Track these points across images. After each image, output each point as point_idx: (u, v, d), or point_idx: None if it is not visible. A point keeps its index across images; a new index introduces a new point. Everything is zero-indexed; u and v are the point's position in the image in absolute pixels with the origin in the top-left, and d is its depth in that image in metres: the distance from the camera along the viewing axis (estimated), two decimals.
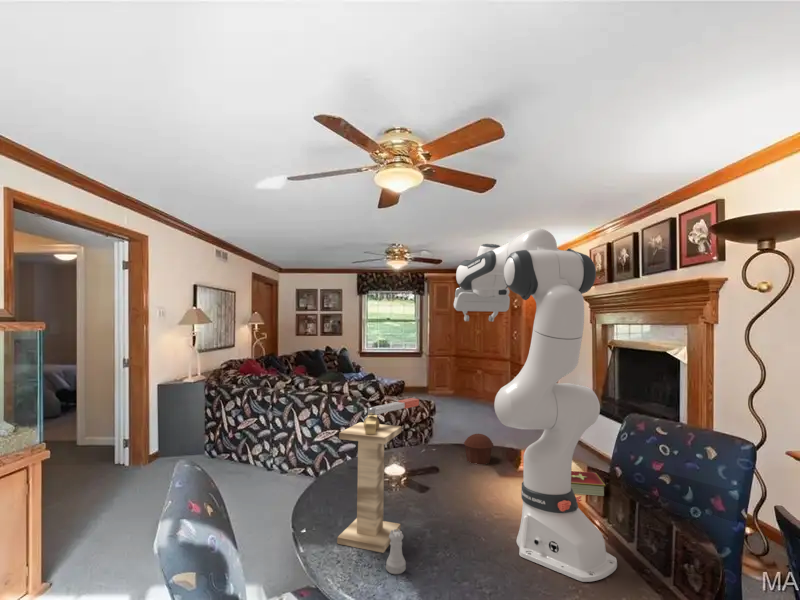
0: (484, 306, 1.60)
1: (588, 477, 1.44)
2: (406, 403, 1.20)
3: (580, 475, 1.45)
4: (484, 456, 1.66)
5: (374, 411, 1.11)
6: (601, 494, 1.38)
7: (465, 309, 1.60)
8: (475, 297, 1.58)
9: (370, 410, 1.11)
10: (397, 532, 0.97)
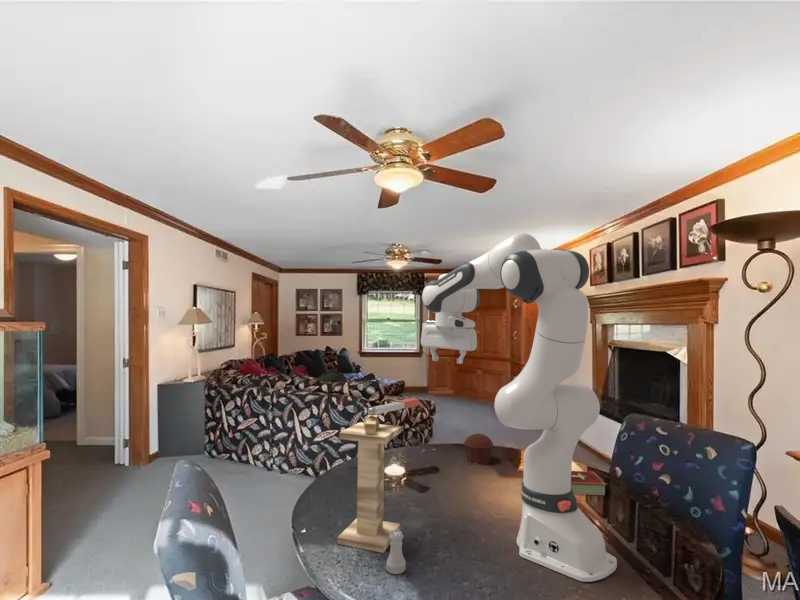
0: (446, 342, 1.47)
1: (588, 477, 1.44)
2: (406, 403, 1.20)
3: (580, 475, 1.45)
4: (484, 456, 1.66)
5: (374, 411, 1.11)
6: (602, 493, 1.38)
7: (429, 344, 1.51)
8: (437, 331, 1.50)
9: (370, 410, 1.11)
10: (397, 532, 0.97)
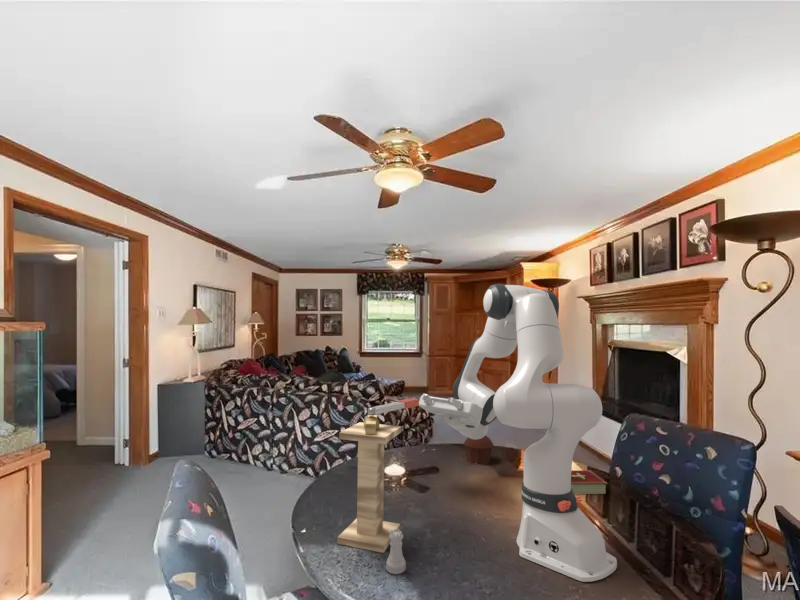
0: None
1: (587, 476, 1.45)
2: (406, 403, 1.20)
3: (579, 474, 1.46)
4: (484, 456, 1.66)
5: (374, 411, 1.11)
6: (603, 492, 1.39)
7: (430, 396, 1.43)
8: None
9: (370, 410, 1.11)
10: (397, 532, 0.97)
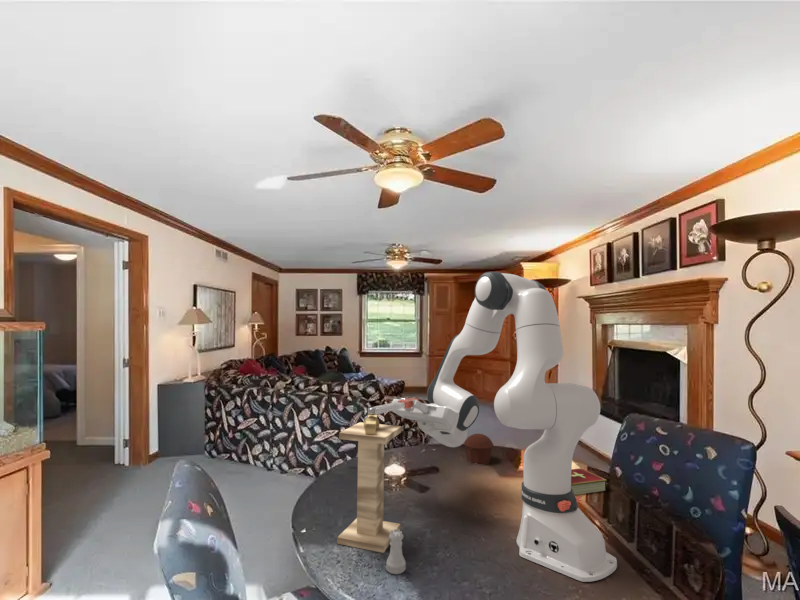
0: None
1: (584, 474, 1.47)
2: (406, 403, 1.20)
3: (577, 473, 1.47)
4: (484, 456, 1.66)
5: (374, 411, 1.11)
6: (603, 489, 1.42)
7: None
8: None
9: (370, 410, 1.11)
10: (397, 532, 0.97)
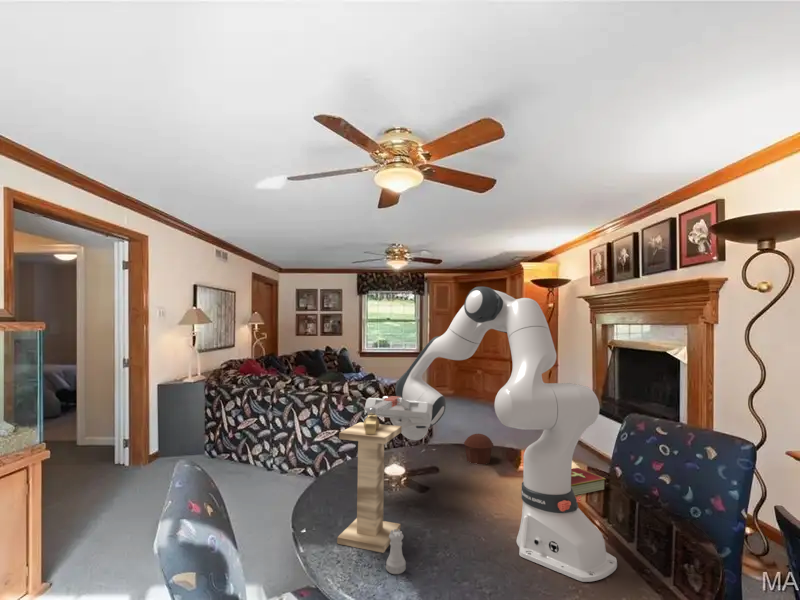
0: None
1: (582, 473, 1.47)
2: (393, 401, 1.23)
3: (576, 473, 1.47)
4: (484, 456, 1.66)
5: (375, 411, 1.11)
6: (602, 488, 1.43)
7: None
8: None
9: (371, 410, 1.11)
10: (397, 532, 0.97)
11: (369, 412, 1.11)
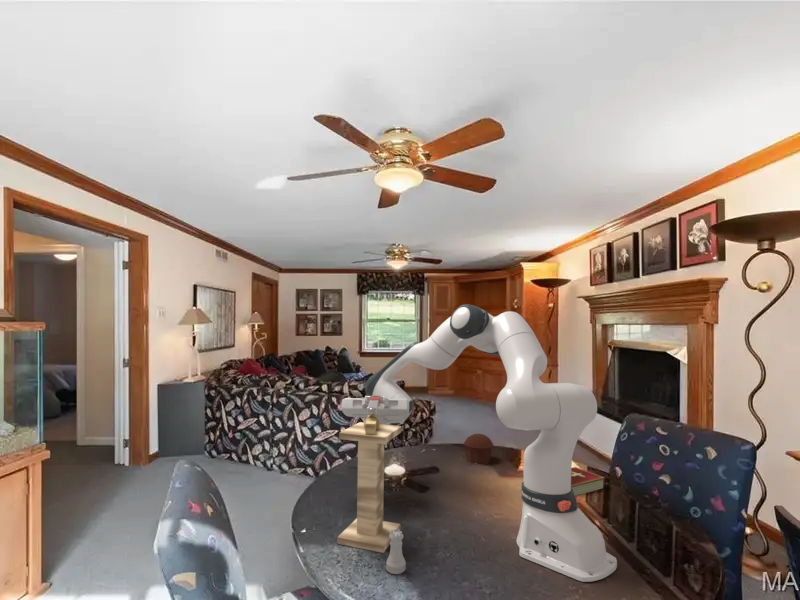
0: None
1: (581, 473, 1.48)
2: (379, 400, 1.24)
3: (575, 473, 1.47)
4: (484, 456, 1.66)
5: (375, 410, 1.11)
6: (601, 487, 1.44)
7: None
8: None
9: (373, 410, 1.11)
10: (397, 532, 0.97)
11: (370, 412, 1.11)
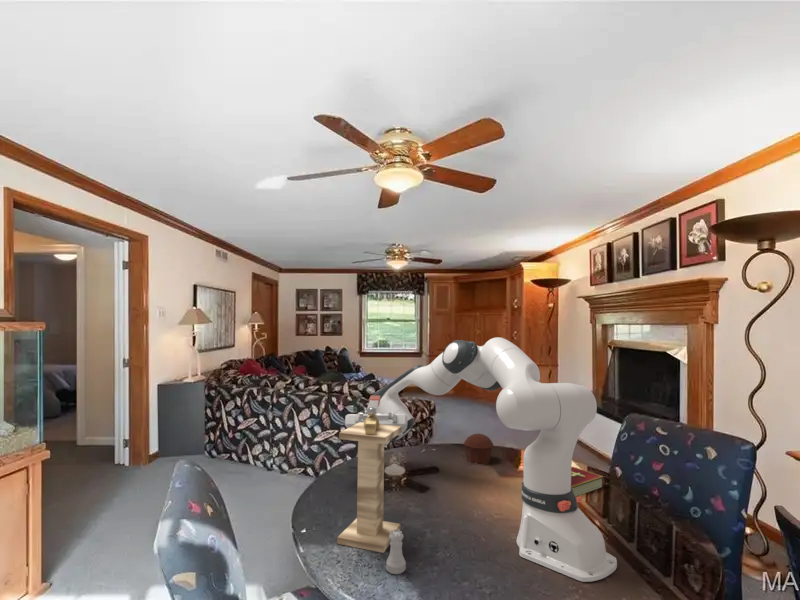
0: None
1: (580, 472, 1.48)
2: (379, 400, 1.24)
3: (574, 472, 1.47)
4: (484, 456, 1.66)
5: (375, 410, 1.11)
6: (600, 486, 1.45)
7: None
8: None
9: (373, 410, 1.11)
10: (397, 532, 0.97)
11: (370, 412, 1.11)
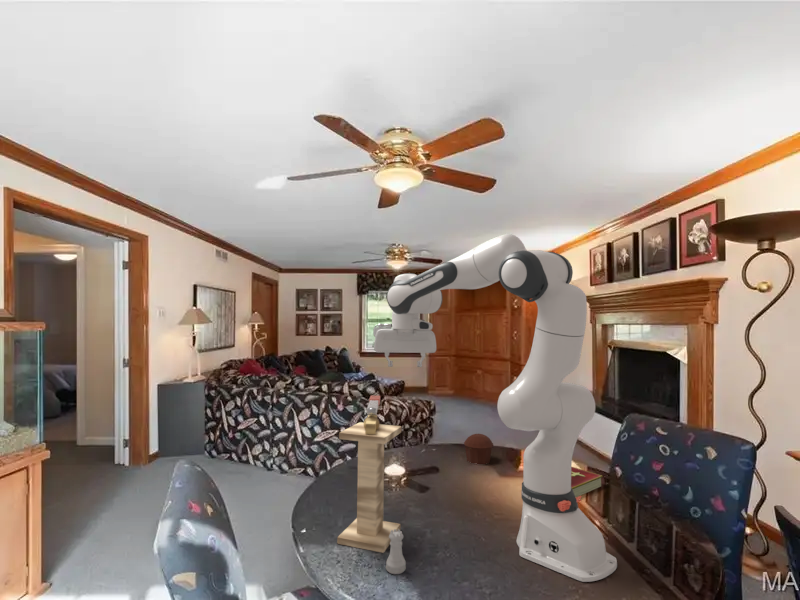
0: (407, 345, 1.41)
1: (579, 472, 1.48)
2: (379, 400, 1.24)
3: (574, 472, 1.47)
4: (484, 456, 1.66)
5: (375, 410, 1.11)
6: (599, 485, 1.45)
7: (385, 349, 1.41)
8: (395, 334, 1.41)
9: (373, 410, 1.11)
10: (397, 532, 0.97)
11: (370, 412, 1.11)
